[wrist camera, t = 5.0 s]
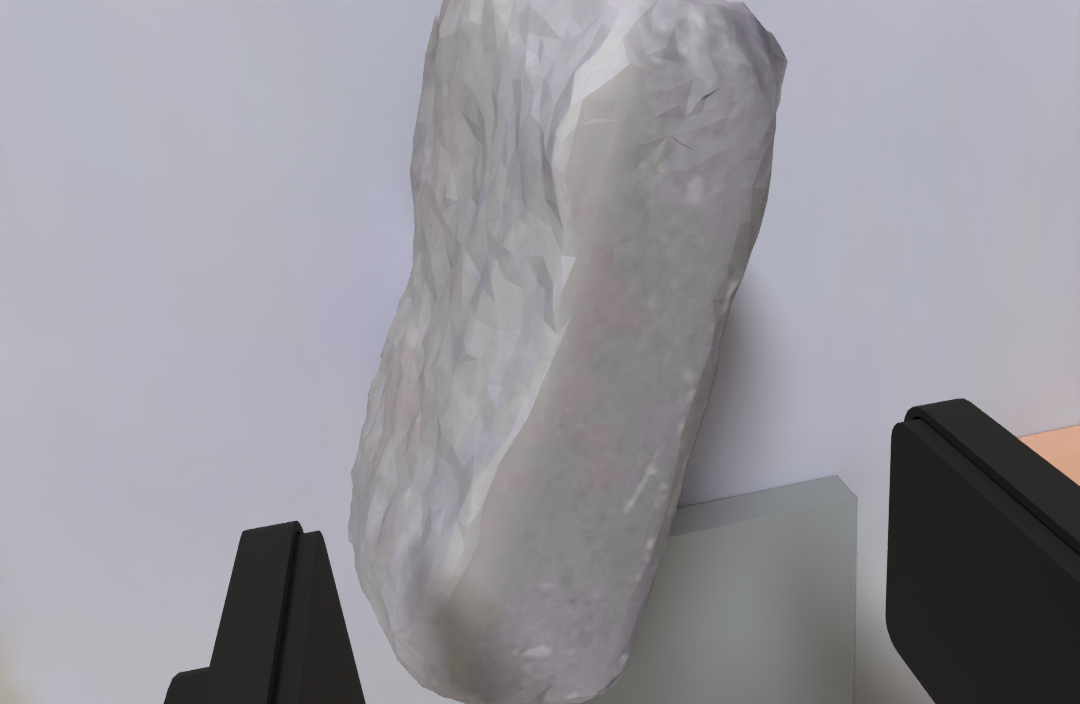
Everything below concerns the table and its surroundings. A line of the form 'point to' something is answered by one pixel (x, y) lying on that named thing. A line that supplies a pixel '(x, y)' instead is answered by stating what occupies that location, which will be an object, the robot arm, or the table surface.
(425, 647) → the stone block
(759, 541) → the slate mat
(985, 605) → the robot arm
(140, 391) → the table surface
